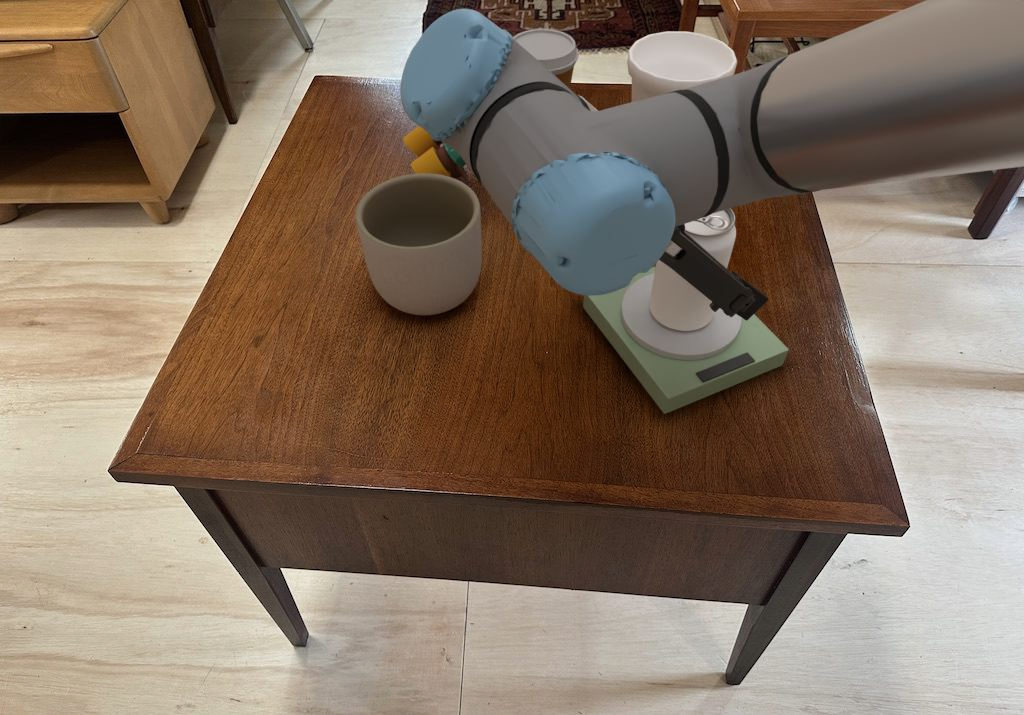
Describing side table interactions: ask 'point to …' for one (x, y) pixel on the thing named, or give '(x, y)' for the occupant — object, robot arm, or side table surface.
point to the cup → (677, 62)
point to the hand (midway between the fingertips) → (711, 262)
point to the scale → (682, 346)
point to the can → (676, 296)
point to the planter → (421, 241)
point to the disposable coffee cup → (551, 51)
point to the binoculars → (435, 156)
